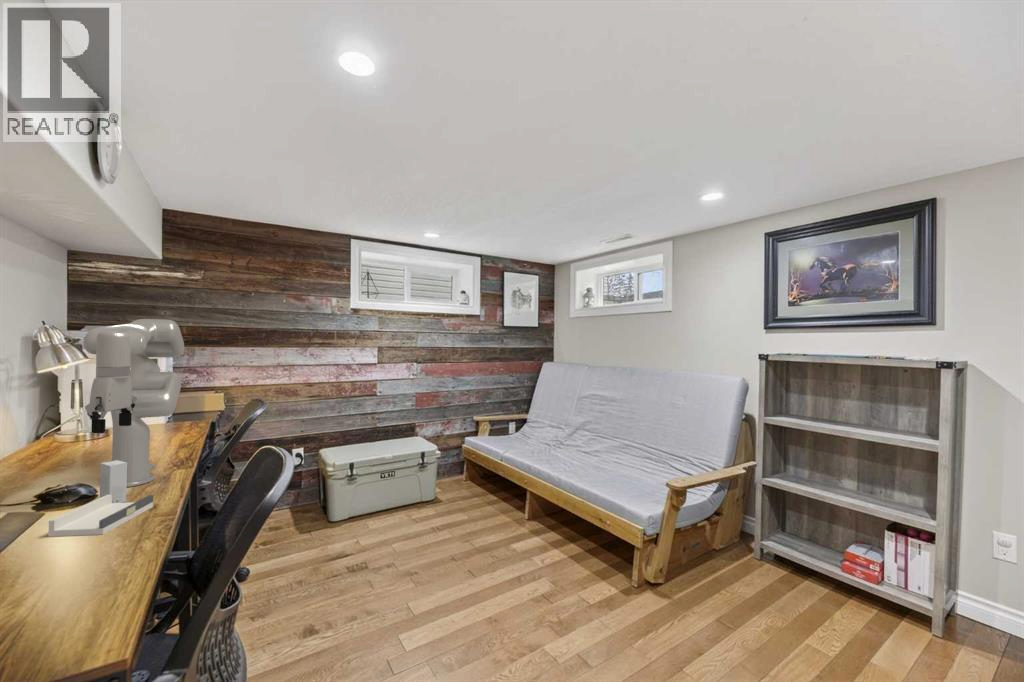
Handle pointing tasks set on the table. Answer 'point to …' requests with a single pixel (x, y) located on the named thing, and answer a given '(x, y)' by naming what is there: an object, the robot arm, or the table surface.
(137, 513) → the display shelf
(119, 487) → the skincare box
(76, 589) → the table surface
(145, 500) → the price rail
